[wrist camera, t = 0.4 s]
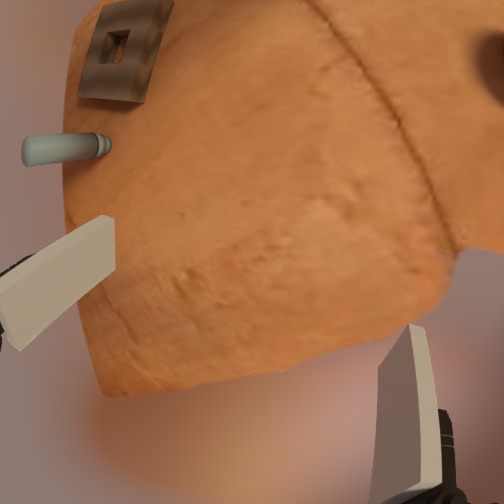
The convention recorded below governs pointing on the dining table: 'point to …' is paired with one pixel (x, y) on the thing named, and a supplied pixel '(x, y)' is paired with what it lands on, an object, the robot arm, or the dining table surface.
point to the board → (135, 53)
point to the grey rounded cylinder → (63, 148)
